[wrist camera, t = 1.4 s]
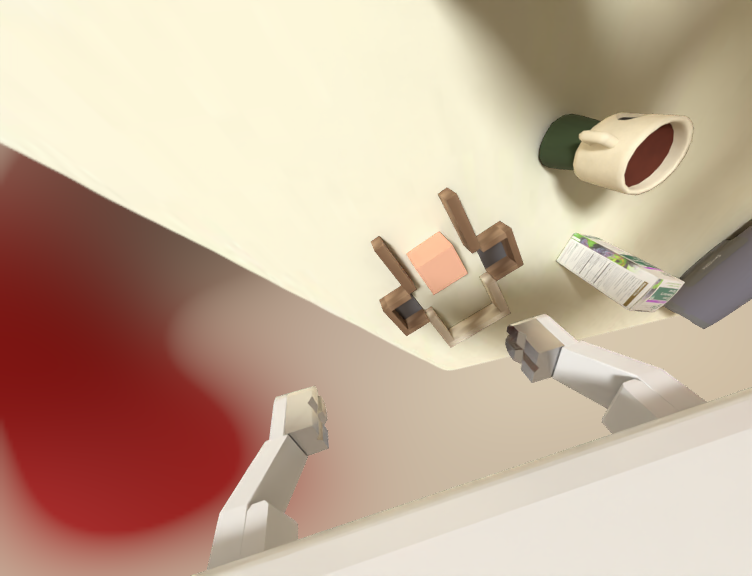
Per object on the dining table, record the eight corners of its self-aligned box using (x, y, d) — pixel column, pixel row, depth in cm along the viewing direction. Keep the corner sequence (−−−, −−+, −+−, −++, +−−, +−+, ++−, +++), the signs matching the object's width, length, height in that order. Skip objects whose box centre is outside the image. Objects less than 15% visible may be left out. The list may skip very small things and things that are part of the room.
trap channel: (479, 164, 36) (491, 169, 33) (524, 289, 52) (535, 298, 49) (343, 260, 40) (345, 271, 38) (424, 349, 56) (429, 360, 53)
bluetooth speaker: (665, 305, 65) (715, 334, 57) (646, 296, 61) (697, 326, 53) (767, 221, 54) (846, 242, 46) (752, 204, 51) (835, 224, 43)
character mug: (602, 127, 36) (719, 138, 26) (567, 179, 40) (657, 208, 29) (545, 94, 33) (655, 92, 22) (512, 156, 36) (593, 179, 26)
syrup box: (597, 236, 47) (690, 280, 36) (576, 265, 51) (656, 314, 39) (573, 232, 46) (662, 277, 34) (553, 262, 49) (629, 312, 37)
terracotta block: (438, 230, 41) (452, 245, 37) (453, 257, 44) (467, 273, 40) (405, 253, 42) (415, 269, 38) (422, 277, 45) (433, 294, 41)
